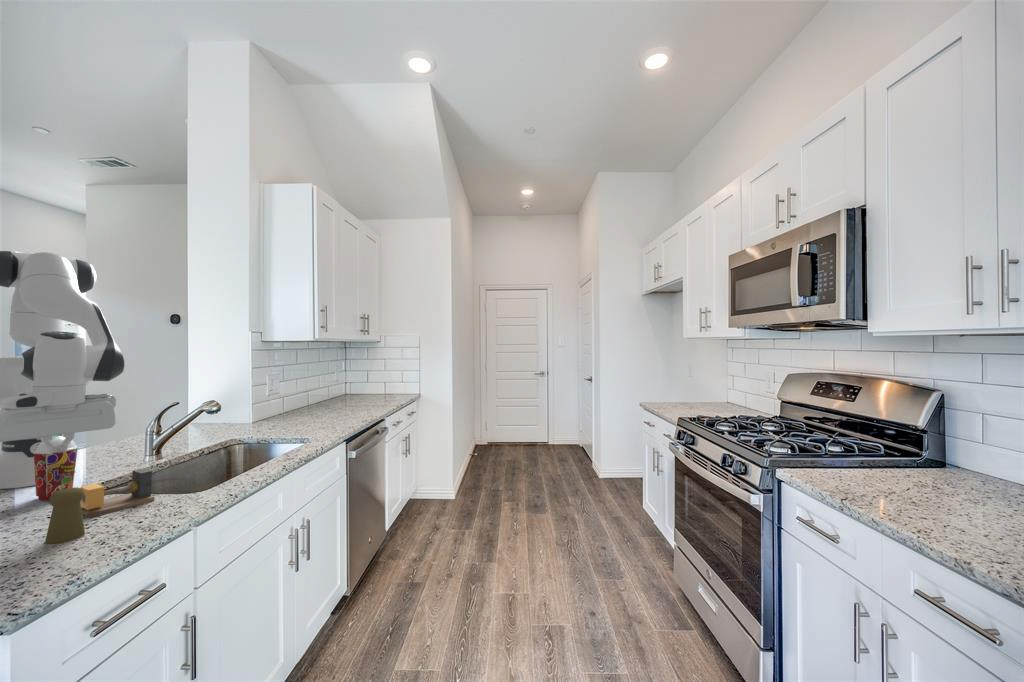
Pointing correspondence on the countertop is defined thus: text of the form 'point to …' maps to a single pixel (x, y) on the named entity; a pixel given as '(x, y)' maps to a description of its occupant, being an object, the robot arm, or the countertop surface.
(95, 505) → the sleeve
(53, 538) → the cork
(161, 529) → the countertop surface
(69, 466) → the smoothie
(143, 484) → the sliding block toy
